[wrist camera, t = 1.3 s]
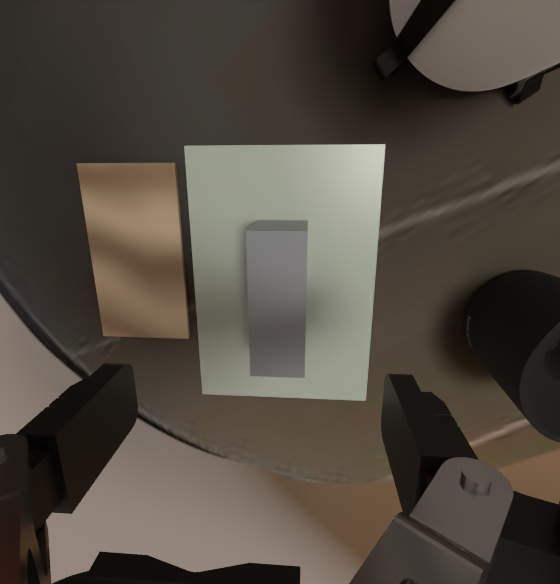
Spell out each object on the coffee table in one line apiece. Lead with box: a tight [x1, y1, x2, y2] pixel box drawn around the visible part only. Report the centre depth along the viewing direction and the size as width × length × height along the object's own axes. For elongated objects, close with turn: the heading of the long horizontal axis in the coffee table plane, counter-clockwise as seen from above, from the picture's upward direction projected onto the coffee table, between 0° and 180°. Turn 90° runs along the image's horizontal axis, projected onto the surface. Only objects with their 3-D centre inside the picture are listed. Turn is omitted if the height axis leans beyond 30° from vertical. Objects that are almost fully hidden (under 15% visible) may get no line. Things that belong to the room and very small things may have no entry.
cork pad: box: [77, 163, 190, 339], centre depth 32 cm, size 15×8×1 cm, turn 0°
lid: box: [184, 144, 385, 401], centre depth 23 cm, size 16×11×7 cm
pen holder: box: [464, 271, 560, 442], centre depth 27 cm, size 9×9×10 cm
